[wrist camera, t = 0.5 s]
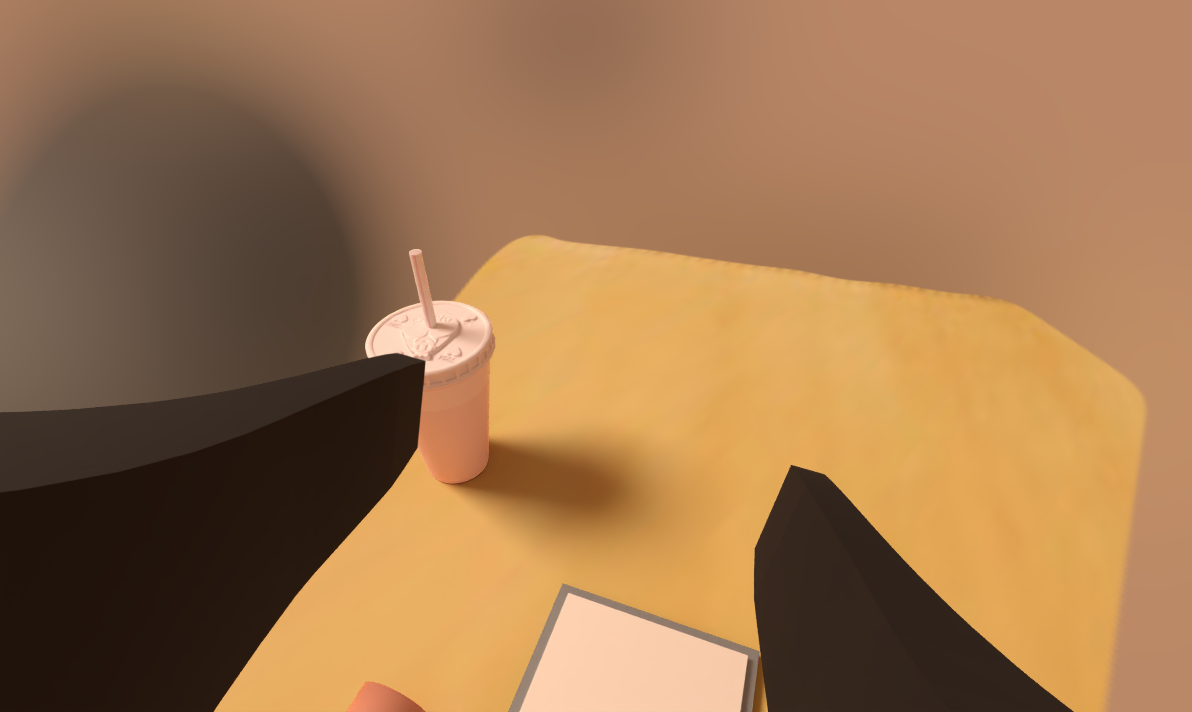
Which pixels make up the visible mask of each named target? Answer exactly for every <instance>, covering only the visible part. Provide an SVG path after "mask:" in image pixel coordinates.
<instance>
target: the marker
mask: <svg viewBox="0 0 1192 712" xmlns="http://www.w3.org/2000/svg"><path fill="white" fill-rule="evenodd" d="M347 712H425V711H424V710H423V709H422V708H421V707H420V706H419V705H417V704H416V703H415V702H413V701H412V700H410V699H409V698H407V697H406V696H404V695H402V694H401V693H399V692H397V691H395V690H393V689H391V688H389V687H386V686H384V685H381V684H378V683H375V682H365V683H364V684H363V686H362V688H361V689H360V691H359V692H358V694H357V696H356V697H355V699H354V700H353V702H352V704H351V705H350V707H349V708H348V710H347Z"/></svg>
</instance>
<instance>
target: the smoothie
mask: <svg viewBox="0 0 1192 712" xmlns="http://www.w3.org/2000/svg"><path fill="white" fill-rule="evenodd" d="M409 255H410V259H411V263H412V268H413V272H414V277H415V281H416V285H417V290H418V294H419V298H420V302H421V303H418V304H415V305H411V306H407V307H405V308H402V309H400V310H398V311H395V312H394V313H392V314H390V315H388V316H387V317H386V318H384V319H382V320H381V321H380V322H379V323H378V324H377V325H376V326H375V327H374V328H373V329H372V330H371V332H370V334H369V335H368V337H367V340H366V346H365V348H366V353H367V356H368V358H371V357H375V356H380V355H385V354H391V353H400V354H403V355H407V356H410V357H414V358H417V359H421V360H424V361H426V364H425V375H424V385H423V396H422V406H421V417H420V428H419V438H418V450H419V452H420V454H421V456H422V458H423V460H424V462H425V464H426V466H427V468H428V470H429V472H430V474H431V475H432V476H433V477H434V478H435V479H437V480H439V481H441V482H444V483H450V484H455V483H462V482H466V481H468V480H471V479H473V478H474V477H476V476H477V475H479V474H480V473H481V472H482V471H483V470H484V468H485V467H486V465H487V463H488V459H489V374H490V361H489V360H490V358H491V357H492V354H493V352H494V349H495V336H494V334H493V329H492V324H491V322H490V320H489V318H488V317H487V316H486V315H485V314H484V313H483V312H482V311H480V310H479V309H477V308H475V307H473V306H471V305H467V304H464V303H460V302H454V301H432V299H431V294H430V290H429V285H428V281H427V276H426V271H425V267H424V262H423V258H422V252H421V250H419V249H415V250H411V251H410V252H409Z"/></svg>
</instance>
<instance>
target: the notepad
mask: <svg viewBox="0 0 1192 712" xmlns="http://www.w3.org/2000/svg"><path fill="white" fill-rule="evenodd" d="M758 659H759V651H757V650H754V649H751V648H748V647H745V646H742V645H740V644H737V643H734V642H731V641H728V640H725V639H722V638H719V637H716V636H713V635H711V634H708V633H705V632H702V631H699V630H696V629H693V628H690V627H687V626H685V625H682V624H679V623H676V622H673V621H670V620H667V619H664V618H661V617H658V616H656V615H653V614H650V613H647V612H644V611H641V610H638V609H635V608H632V607H630V606H627V605H624V604H621V603H618V602H615V601H612V600H609V599H606V598H603V597H601V596H598V595H595V594H592V593H589V592H586V591H583V590H580V589H577V588H575V587H572V586H569V585H566V584H562V587H561V589H560V591H559V594H558V596H557V598H556V601H555V603H554V605H553V608H552V610H551V612H550V615H549V617H548V620H547V622H546V624H545V627H544V629H543V631H542V634H541V636H540V638H539V641H538V643H537V645H536V648H535V650H534V652H533V655H532V657H531V660H530V662H529V664H528V667H527V669H526V671H525V674H524V676H523V678H522V681H521V683H520V685H519V688H518V690H517V693H516V695H515V697H514V700H513V702H512V704H511V707H510V709H509V711H508V712H752V709H753V701H754V692H755V684H756V676H757V667H758Z"/></svg>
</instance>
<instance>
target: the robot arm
mask: <svg viewBox="0 0 1192 712" xmlns="http://www.w3.org/2000/svg"><path fill="white" fill-rule="evenodd" d="M425 364H426V361H424V360H421V359H417V358H414V357H410V356H407V355H403V354H400V353H391V354H385V355H380V356H375V357H371V358H366V359H362V360H358V361H354V362H350V363H347V364H342V365H339V366H335V367H331V368H327V369H323V370H319V371H315V372H311V373H307V374H303V375H300V376H295V377H291V378H286V379H281V380H277V381H273V382H268V383H263V384H259V385H254V386H250V387H245V388H241V389H236V390H231V391H225V392H219V393H213V394H208V395H201V396H195V397H188V398H181V399H174V400H167V401H159V402H151V403H141V404H129V405H118V406H107V407H96V408H84V409H72V410H54V411H32V412H7V413H6V412H2V413H0V712H214V710H215V709H216V707H217V706H218V704H219V703H220V701H221V700H222V698H223V697H224V695H225V694H226V693H227V691H228V690H229V688H230V687H231V685H232V684H233V682H234V681H235V680H236V678H237V677H238V675H239V674H240V672H241V671H242V670H243V668H244V667H245V665H246V664H247V662H248V661H249V660H250V658H251V657H252V655H253V654H254V652H255V651H256V649H257V648H258V647H259V645H260V644H261V642H262V641H263V640H264V638H265V637H266V636H267V634H268V633H269V632H270V630H271V629H272V627H273V626H274V625H275V623H276V622H277V621H278V619H279V618H280V617H281V615H282V614H283V612H284V611H285V610H286V608H287V607H288V606H289V604H290V603H291V602H292V600H293V599H294V597H295V596H296V595H297V594H298V592H299V591H300V590H301V589H302V588H303V586H304V585H305V584H306V583H307V582H308V580H309V579H310V578H311V577H312V576H313V574H314V573H315V572H316V571H317V570H318V569H319V568H320V567H321V565H322V564H323V563H324V562H325V561H326V560H327V559H328V558H329V556H330V555H331V554H332V553H333V552H334V551H335V550H336V549H337V548H338V546H339V545H340V544H341V543H342V542H343V541H344V540H345V539H346V538H347V536H348V535H349V534H350V533H351V532H352V531H353V530H354V529H355V528H356V526H357V525H358V524H359V523H360V522H361V521H362V520H363V519H364V518H365V516H366V515H367V514H368V513H369V512H370V511H371V510H372V509H373V507H374V506H375V505H376V504H377V503H378V502H379V501H380V499H381V498H382V497H383V496H384V495H385V494H386V493H387V491H388V490H389V489H390V488H391V487H392V485H393V484H394V482H395V481H396V480H397V478H398V477H399V475H400V474H401V472H402V471H403V469H404V468H405V466H406V465H407V463H408V462H409V460H410V459H411V457H412V455H413V454H414V452H415V451H416V449H417V448H418V438H419V428H420V417H421V406H422V396H423V385H424V375H425ZM754 602H755V611H756V619H757V628H758V636H759V644H760V652H761V660H762V667H763V675H764V683H765V691H766V699H767V706H768V712H1073V711H1072V710H1071V709H1069V708H1068V707H1067V706H1066V705H1064V704H1063V703H1062V702H1060V701H1059V700H1058V699H1057V698H1055V697H1054V696H1053V695H1051V694H1050V693H1049V692H1048V691H1046V690H1045V689H1044V688H1042V687H1041V686H1040V685H1039V684H1038V683H1036V682H1035V681H1034V680H1033V679H1031V678H1030V677H1029V676H1028V675H1027V674H1025V673H1024V672H1023V671H1022V670H1021V669H1019V668H1018V667H1017V666H1016V665H1015V664H1013V663H1012V662H1011V661H1010V660H1009V659H1008V658H1006V657H1005V656H1004V655H1003V654H1002V653H1001V652H1000V651H998V650H997V649H996V648H995V647H994V646H993V645H992V644H991V643H989V642H988V641H987V640H986V639H985V638H984V637H983V636H981V635H980V634H979V633H978V632H977V631H976V630H975V629H973V628H972V627H971V626H970V625H969V624H968V623H967V622H966V621H965V620H964V619H963V618H961V617H960V616H959V615H958V614H957V613H956V612H955V611H954V610H953V609H952V608H951V607H950V606H949V605H948V604H947V603H946V602H945V601H944V600H943V599H942V598H941V597H940V596H939V595H938V594H937V593H936V592H935V591H934V590H933V589H932V588H931V587H930V586H929V585H928V584H927V583H926V582H925V581H924V580H923V579H922V578H921V577H920V576H919V575H918V574H917V573H916V572H915V571H914V570H913V569H912V568H911V567H910V566H909V565H908V564H907V563H906V562H905V561H904V560H903V559H902V558H901V556H900V555H899V554H898V553H897V552H896V551H895V550H894V549H893V548H892V547H891V546H890V545H889V544H888V542H887V541H886V540H885V539H884V538H883V537H882V536H881V535H880V534H879V533H878V531H877V530H876V529H875V528H874V527H873V526H872V525H871V524H870V523H869V521H868V520H867V519H866V518H865V517H864V516H863V515H862V514H861V512H860V511H859V510H858V509H857V508H856V507H855V506H854V505H853V503H852V502H851V501H850V500H849V499H848V498H847V497H846V496H845V495H844V494H843V492H842V491H841V490H840V489H839V488H838V487H837V486H836V485H835V484H834V483H833V482H832V481H831V480H830V479H829V478H828V477H827V476H826V475H824V474H821V473H818V472H814V471H811V470H807V469H804V468H800V467H797V466H793V465H791V467H790V469H789V471H788V474H787V476H786V478H785V480H784V483H783V485H782V487H781V490H780V492H779V494H778V496H777V499H776V501H775V503H774V506H773V508H772V510H771V512H770V515H769V517H768V519H767V522H766V524H765V526H764V528H763V531H762V533H761V535H760V538H759V540H758V542H757V545H756V547H755V560H754Z"/></svg>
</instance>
